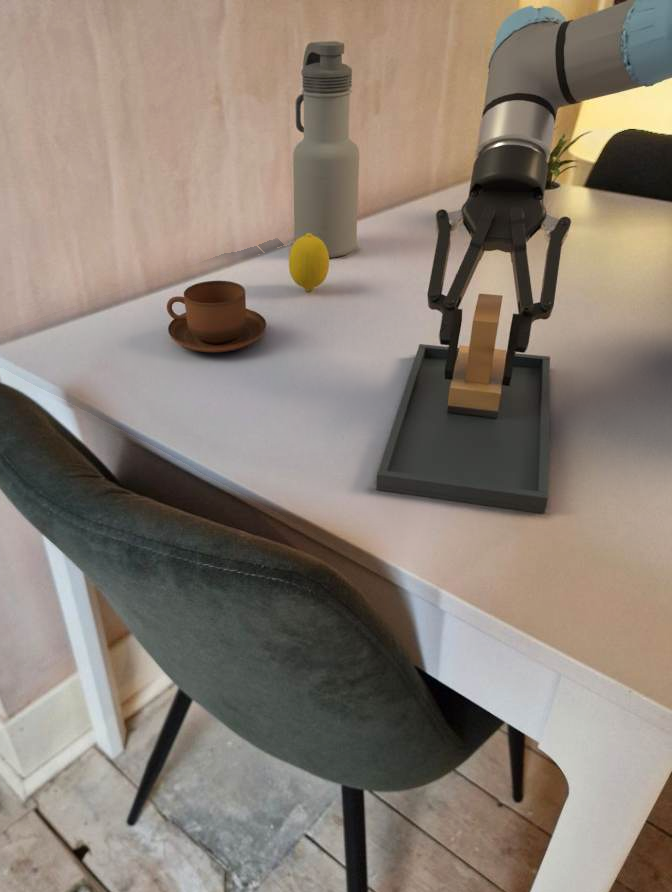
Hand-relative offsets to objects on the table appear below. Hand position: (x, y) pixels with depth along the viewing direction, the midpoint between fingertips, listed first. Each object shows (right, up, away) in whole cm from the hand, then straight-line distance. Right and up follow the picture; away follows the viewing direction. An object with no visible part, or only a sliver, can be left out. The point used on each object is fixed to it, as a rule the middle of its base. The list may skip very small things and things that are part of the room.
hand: (477, 377), depth 76 cm
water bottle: (-13, +28, +45) cm, 54 cm away
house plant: (+21, +36, +53) cm, 67 cm away
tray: (0, -4, +1) cm, 5 cm away
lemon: (-16, +17, +31) cm, 39 cm away
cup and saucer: (-28, +8, +18) cm, 34 cm away
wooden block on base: (+1, -1, +5) cm, 5 cm away
